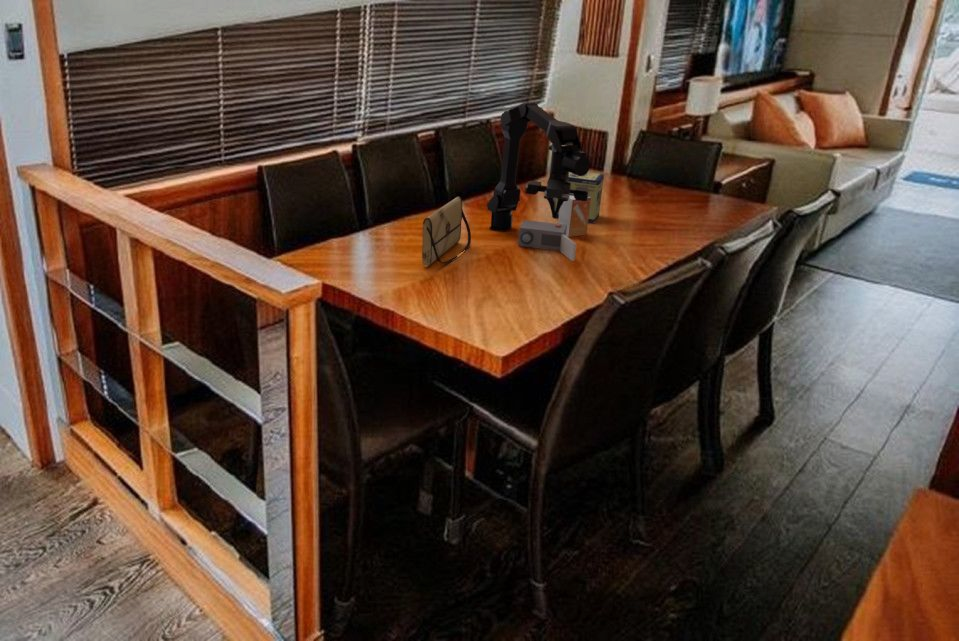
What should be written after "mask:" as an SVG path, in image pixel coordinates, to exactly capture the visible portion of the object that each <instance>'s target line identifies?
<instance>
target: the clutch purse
mask: <svg viewBox="0 0 959 641" xmlns="http://www.w3.org/2000/svg"><path fill="white" fill-rule="evenodd" d="M462 221H463V222H464V225H465V227H466V230H467V231H466V232H467V244H466V246H465V247H464V248H463V249H462V250H461V251H459V253H461V252H463V251H464V250H466V249H467V250H468V249H469V248H470V246H471V243H472V235H471V234H472V233H471V228H470V225H469V222H468V220H467V218H466V215H465V213H464V209H463V200H462V198H461V197H460V196H455V198H454V199H452V200H451V201H449V202H447V203H446V204H444V205H443V206H441V207H440V208H438V209H437V210H436V211H434V212H433V213H431V214H429V215H428V216H427V217H426V218H424V220H423V222H422V223H423V224H422V245H421V246H422V247H421V248H422V249H421V250H422V251H421V257H422V258H421V260H422V264H423V266H424V265H426V266H429V267H430V266H431V264H433V263H434V262H435V261H436V260H437V261H438V262H439V263H441V264H449V263H451V262H453V261H454V260H453V259H455V258H456V257H457V255H455V256H453V257H452V258H450V259H448V260H445V261H441V259H440V257H441V256H442V255H444V254H445V253H446V252H447V251H449V248H452V247H453V246H454V245H455V244H458V243H459V242H460V240H461V234H462ZM467 250H466V251H467ZM456 259H457V258H456ZM456 259H455V260H456ZM452 260H453V261H452Z"/></svg>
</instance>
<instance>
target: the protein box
mask: <svg viewBox="0 0 959 641" xmlns="http://www.w3.org/2000/svg"><path fill="white" fill-rule="evenodd" d="M604 177H605V175H604V174H602V173H593V172H588V173H587V174H585V175H584V176H578V175H575V174H573V173H570V172H569V178H568V182H570V183H571V189H576V187H577V186H578V187H586V188H588V189H589V197H591V201H590V210H589V218H588V224H595V222H596V221H597V219H598V218H599V216H600V210H601V204H602V193H603V187H604ZM557 202H558V199H557V198H556V206H557ZM555 210H556V208H555ZM551 218H553V216H552V215H551ZM556 219H559V212H558V214H557V216H556Z"/></svg>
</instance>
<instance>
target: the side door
mask: <svg viewBox="0 0 959 641" xmlns="http://www.w3.org/2000/svg"><path fill="white" fill-rule="evenodd" d="M559 252H560V253H561V254H562V255H564V256H565V257H567V258H568V259H569V260H570V261H571V262H575V260H576V253H577V243H576V242H574V240H572V239H571V238H570V237H567V236H565V235H564V234H562V237H561V247H560V251H559Z"/></svg>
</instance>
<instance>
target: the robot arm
mask: <svg viewBox="0 0 959 641" xmlns="http://www.w3.org/2000/svg"><path fill="white" fill-rule="evenodd" d="M530 122H532V123H533V124H534V125H535V126H537V127H538V128H540V129H541V130H542V131H544V132H545V133H546V138H547V139H548V140H549V142H550V143H551V145H549V146H548V147H547V150H549V151H551V158H550V159H551V160H550V166H549V167H550V168H549V176H548V179H547V182H546V183H547V184H546V185H543V184H542V181H537V180H530V181H528V182H527V184H526V185H525V191H524V193H525V194H526V195H534V196H536V195H537V194H538V193H539V192H541V193H543V194H544V196H543V199H546V200H547V202H548V204H549V206H550V207H549V208H550V211H551V217H552V216H553V217H552V218H553V219H557V218H556V216H557V214H558V212H559V210H560V207H561V205H562V204H563V202H564V201H568V199H569V197H570V195H571V196H574V198H575V199H576V200H580V201H587V199H588V197H589V189H588V188H586V187H578V186H577V187H576V189H571V183H570V182H568V178H569V172H570V173H573V174H575V175H578V176H584V175H585V174H587V173H589V171H590V168H591V161H590V158H588V157H587V152H586V151H583V147H582V143H581V141H580V137H579V134H578V131H577V127H576V126H575V125H574V124H571V123H569V122H565V121H561V120H558V119H557V118H555V117H554V116H552V114H549V113H548V112H547V111H545V109H543V108H541V107H540V106H539V104H538V103H537V102H522V103H521V104H519V105H518V106H516V107H513V108H511V109H507V110H505V111H504V112H502V113H501V116H500V129H501V130H500V131H501V132H502V134H503V137H504V140H503V141H504V142H503V150H502V160H501V169H500V178H499V182H498V183H497V185H495V188H494V191H493V195H492V197H491V198H490V199H489V200H488V201H487V203H486V206H487V211H489V212H491V215H490V216H491V217H490V218H491V219H490V226H489V230H491V231H492V230H493V231H494V230H495V231H501V232H509V231H510V229H512V226H513V219H514V218H513V216H514V215H513V214H512V212H514V211H516V210H517V208H518V205H519V202H520V200H521V189H520V188H518V186H517V184H516V179H517V170H518V163H519V162H518V161H519V153H520V152H519V151H520V144H521V139H522V138H523V137H524V134H525V133H526V132H527V128H528V124H529V123H530ZM556 198H557V199H558V202H557V206H556ZM555 208H556V210H555Z"/></svg>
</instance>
